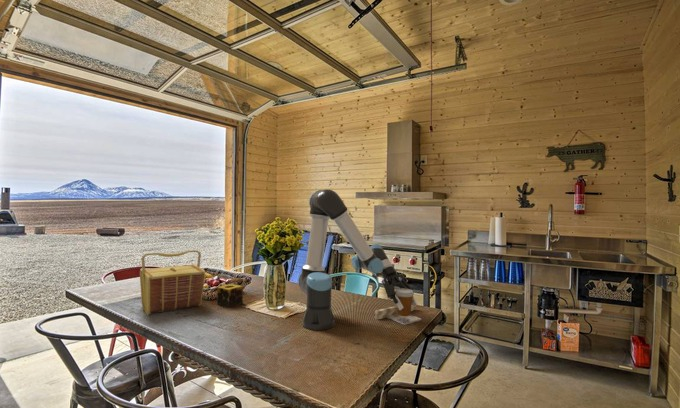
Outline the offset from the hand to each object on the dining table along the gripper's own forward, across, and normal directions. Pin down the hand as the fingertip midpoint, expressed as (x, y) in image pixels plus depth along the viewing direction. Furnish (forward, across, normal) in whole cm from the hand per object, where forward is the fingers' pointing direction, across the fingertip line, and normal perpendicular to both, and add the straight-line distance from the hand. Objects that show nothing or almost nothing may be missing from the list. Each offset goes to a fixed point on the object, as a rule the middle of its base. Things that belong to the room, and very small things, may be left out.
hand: (408, 307), depth 161 cm
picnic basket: (-55, +93, -66) cm, 126 cm away
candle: (-47, +65, -58) cm, 99 cm away
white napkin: (+3, 0, -7) cm, 7 cm away
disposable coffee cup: (+1, 0, -6) cm, 6 cm away
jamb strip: (-3, -2, -12) cm, 13 cm away
